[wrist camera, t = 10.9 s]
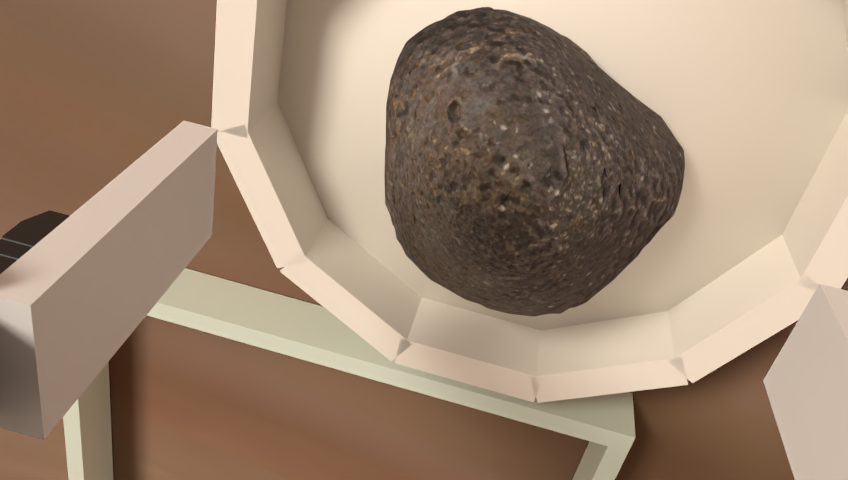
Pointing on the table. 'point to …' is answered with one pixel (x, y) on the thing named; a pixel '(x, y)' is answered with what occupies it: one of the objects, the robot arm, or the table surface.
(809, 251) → the bowl
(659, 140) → the stone
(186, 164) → the robot arm
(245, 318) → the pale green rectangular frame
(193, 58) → the table surface
